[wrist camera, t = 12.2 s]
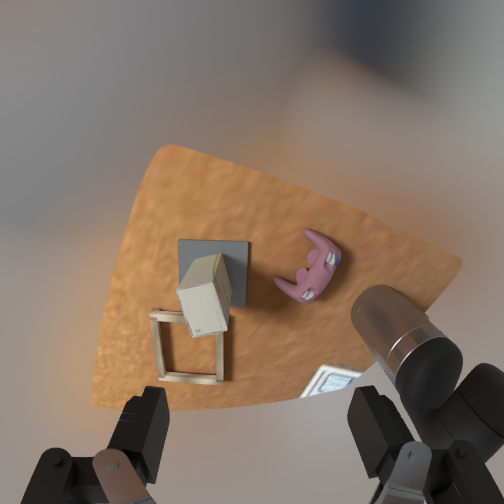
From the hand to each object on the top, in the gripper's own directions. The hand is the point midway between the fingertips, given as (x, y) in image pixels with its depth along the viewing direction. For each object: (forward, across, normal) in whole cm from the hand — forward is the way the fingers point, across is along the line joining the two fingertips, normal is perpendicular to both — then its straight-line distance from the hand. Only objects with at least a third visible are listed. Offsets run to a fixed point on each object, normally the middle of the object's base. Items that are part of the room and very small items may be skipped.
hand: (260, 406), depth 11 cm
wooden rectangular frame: (+32, +9, +19) cm, 38 cm away
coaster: (+32, +5, +6) cm, 33 cm away
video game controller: (+33, -8, +4) cm, 34 cm away
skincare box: (+32, +5, +6) cm, 33 cm away
